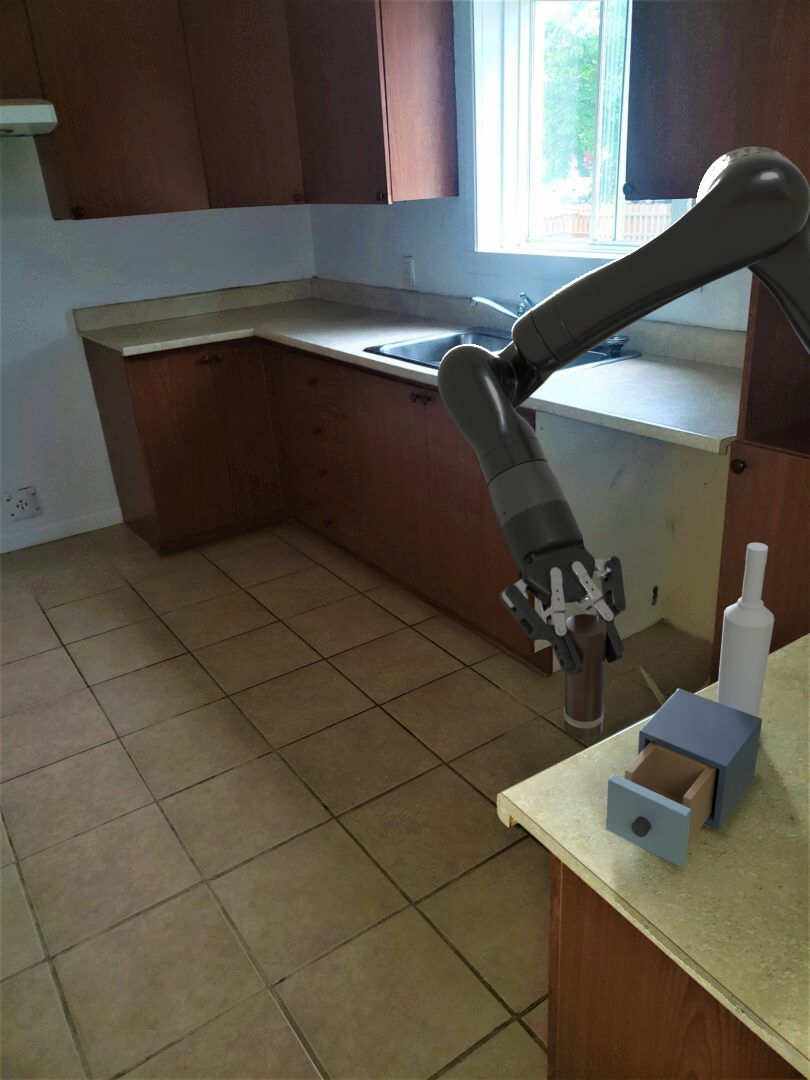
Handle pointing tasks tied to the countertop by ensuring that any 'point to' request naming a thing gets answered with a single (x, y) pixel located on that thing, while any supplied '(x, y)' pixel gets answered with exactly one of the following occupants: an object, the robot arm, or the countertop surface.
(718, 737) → the cabinet
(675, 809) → the drawer
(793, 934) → the countertop surface
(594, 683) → the pepper mill
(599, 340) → the robot arm
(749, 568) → the bottle
